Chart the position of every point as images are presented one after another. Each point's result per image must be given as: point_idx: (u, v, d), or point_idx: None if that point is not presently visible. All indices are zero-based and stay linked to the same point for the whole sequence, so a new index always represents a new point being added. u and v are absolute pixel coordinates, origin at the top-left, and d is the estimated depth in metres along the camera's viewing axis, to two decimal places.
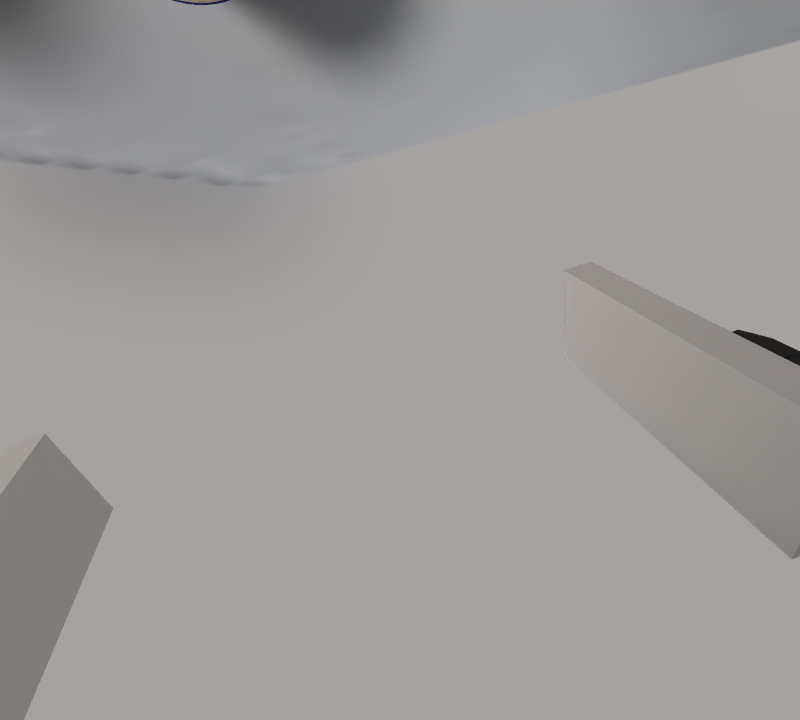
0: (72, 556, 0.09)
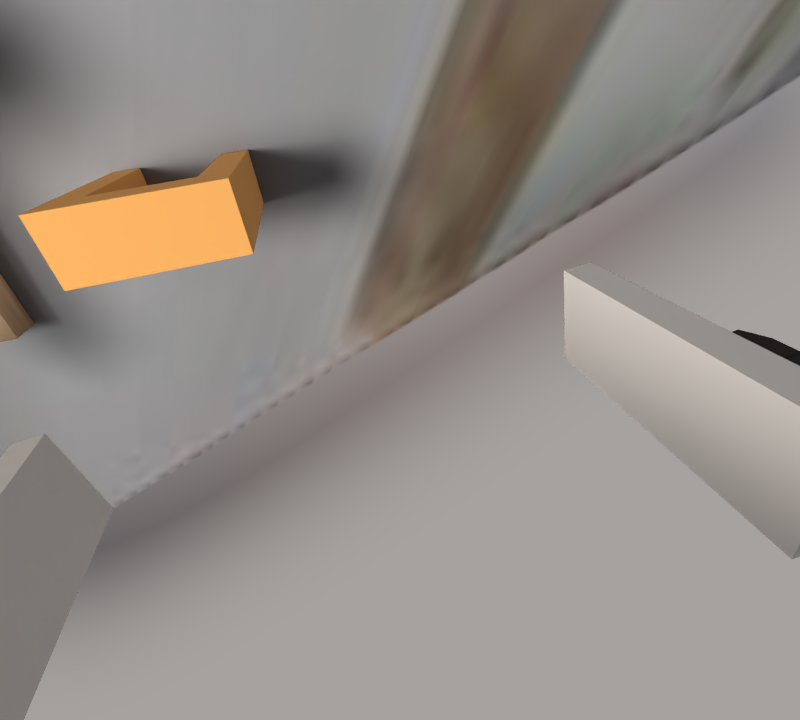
0: (72, 556, 0.09)
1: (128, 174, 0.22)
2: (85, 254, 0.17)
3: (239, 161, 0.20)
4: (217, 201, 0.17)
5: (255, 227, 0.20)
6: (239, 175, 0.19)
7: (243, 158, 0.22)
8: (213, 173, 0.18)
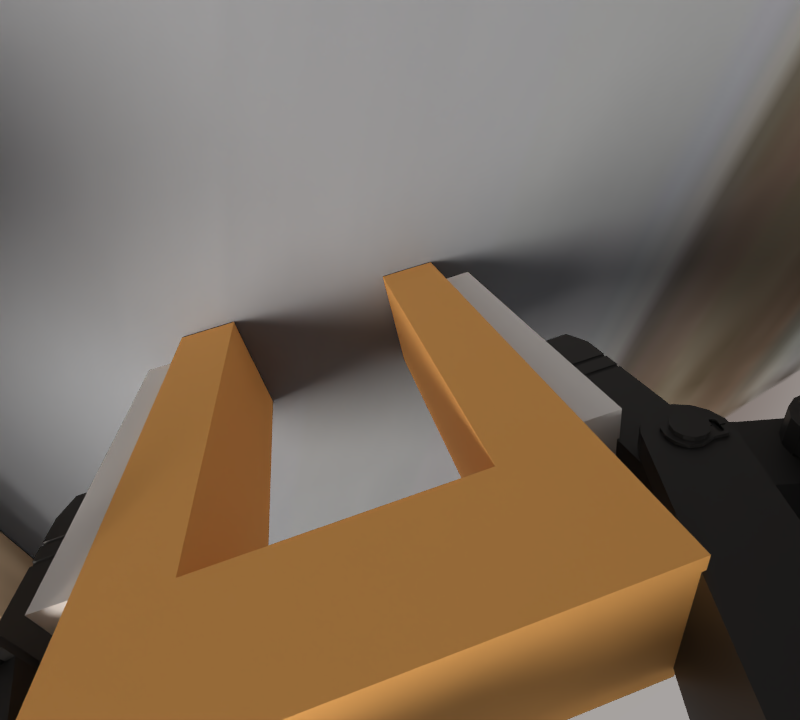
0: None
1: (225, 358, 0.11)
2: None
3: (504, 340, 0.09)
4: (645, 613, 0.05)
5: None
6: None
7: (473, 308, 0.10)
8: (535, 446, 0.06)
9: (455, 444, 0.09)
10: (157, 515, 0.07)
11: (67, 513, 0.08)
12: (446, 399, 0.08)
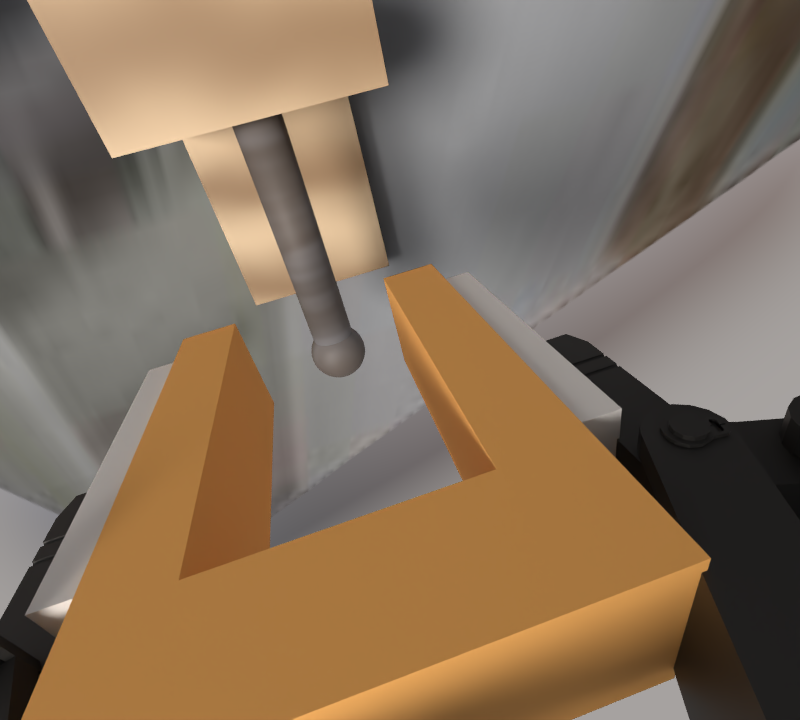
0: None
1: (227, 360, 0.11)
2: None
3: (505, 343, 0.09)
4: (646, 616, 0.05)
5: None
6: None
7: (473, 311, 0.10)
8: (536, 449, 0.06)
9: (456, 446, 0.09)
10: (160, 517, 0.07)
11: (66, 513, 0.08)
12: (447, 401, 0.08)
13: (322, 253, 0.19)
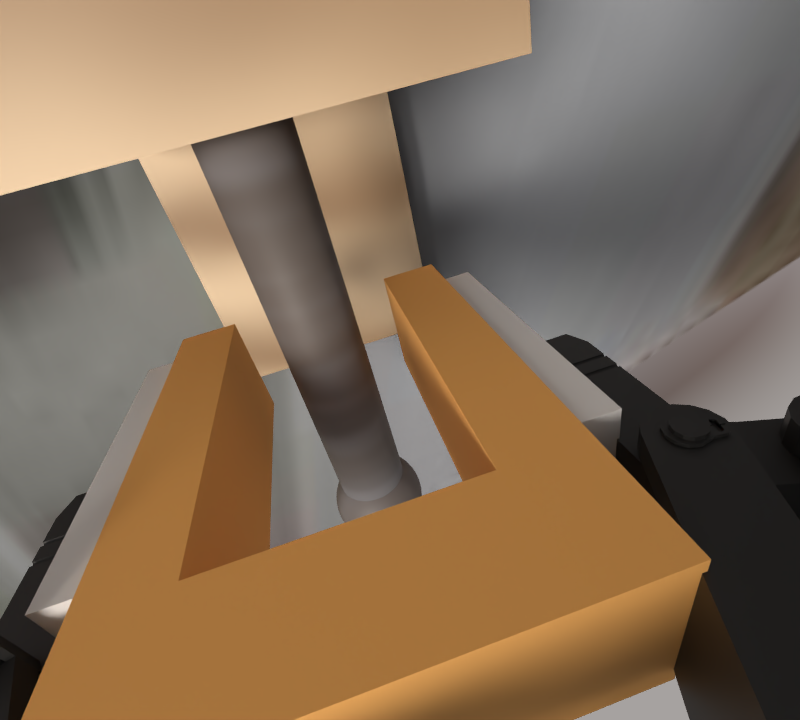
0: None
1: (226, 360, 0.11)
2: None
3: (505, 343, 0.09)
4: (646, 617, 0.05)
5: None
6: None
7: (473, 311, 0.10)
8: (536, 450, 0.06)
9: (456, 446, 0.09)
10: (159, 518, 0.07)
11: (67, 513, 0.08)
12: (447, 402, 0.08)
13: (362, 365, 0.11)
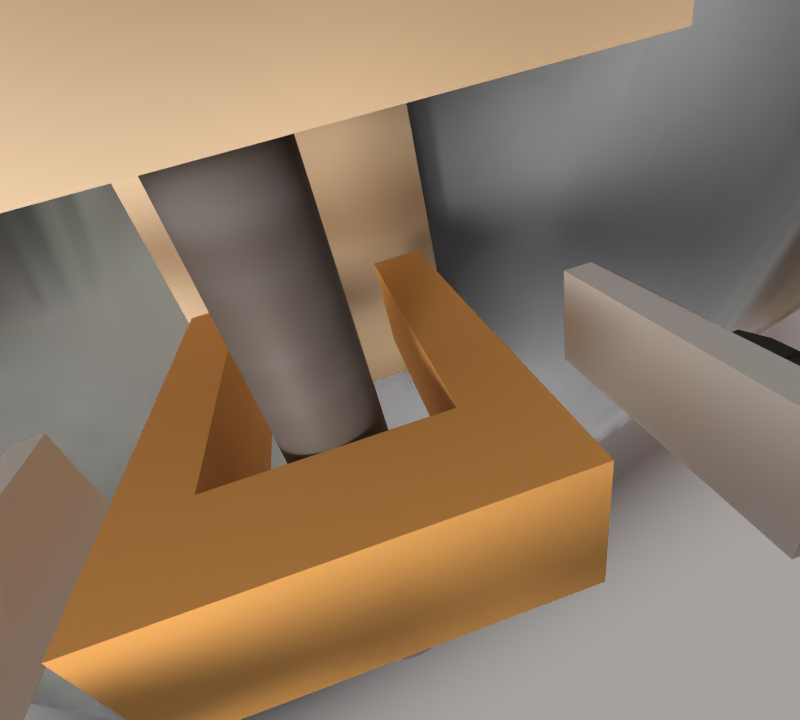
0: (72, 556, 0.09)
1: None
2: (223, 681, 0.06)
3: (475, 313, 0.10)
4: (567, 512, 0.06)
5: None
6: None
7: None
8: (490, 392, 0.07)
9: (433, 405, 0.10)
10: (177, 453, 0.08)
11: None
12: (424, 363, 0.10)
13: None
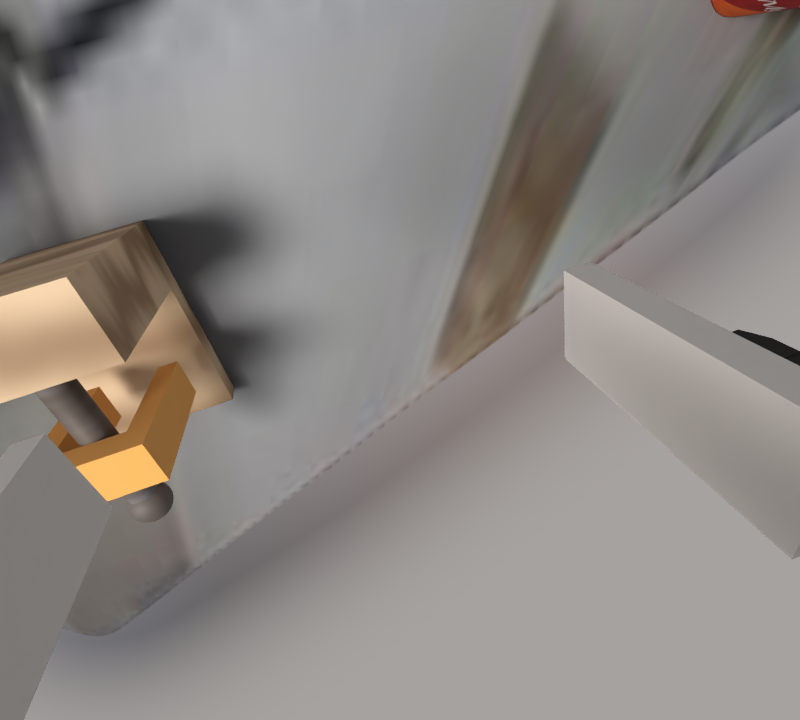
0: (72, 556, 0.09)
1: None
2: None
3: (161, 397, 0.29)
4: (137, 457, 0.25)
5: (176, 443, 0.28)
6: (159, 415, 0.27)
7: (168, 384, 0.30)
8: (137, 427, 0.26)
9: None
10: None
11: None
12: None
13: None
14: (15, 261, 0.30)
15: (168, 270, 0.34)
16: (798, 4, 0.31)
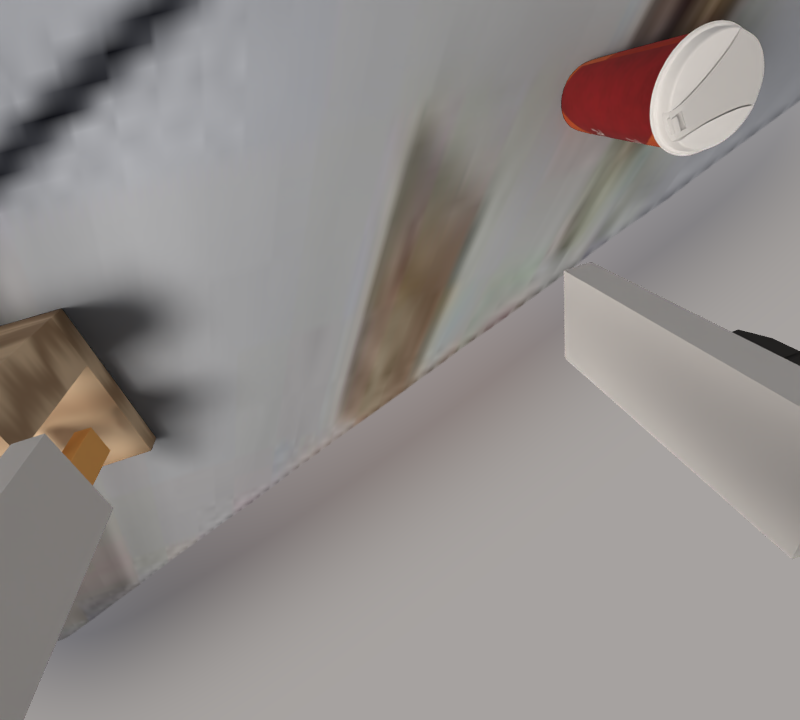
0: (72, 556, 0.09)
1: None
2: None
3: None
4: None
5: None
6: None
7: (76, 453, 0.36)
8: None
9: None
10: None
11: None
12: None
13: None
14: None
15: (87, 347, 0.40)
16: None
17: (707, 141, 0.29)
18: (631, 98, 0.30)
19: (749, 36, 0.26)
